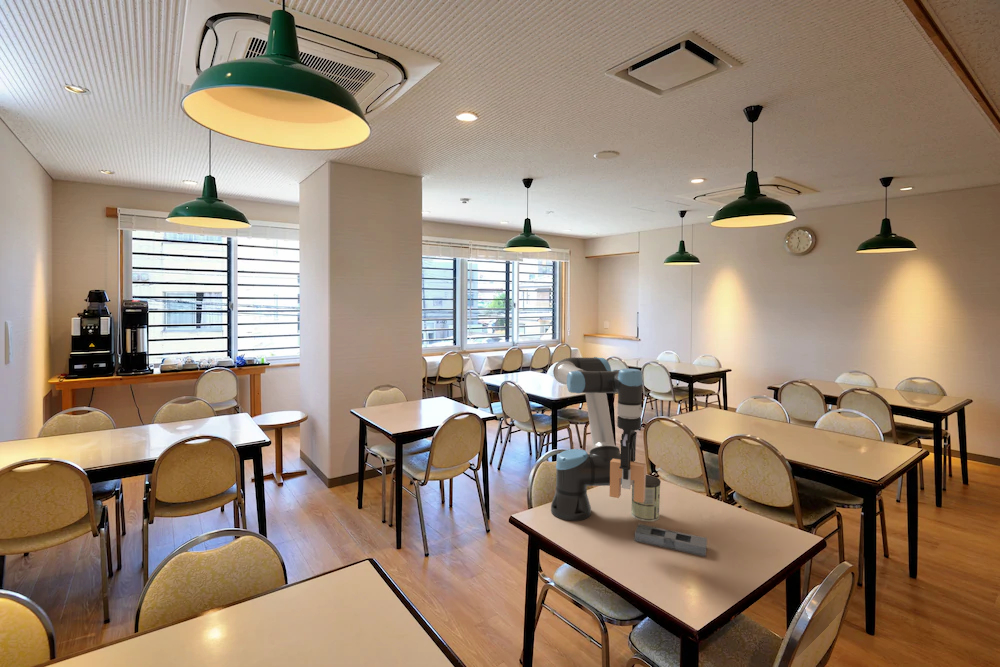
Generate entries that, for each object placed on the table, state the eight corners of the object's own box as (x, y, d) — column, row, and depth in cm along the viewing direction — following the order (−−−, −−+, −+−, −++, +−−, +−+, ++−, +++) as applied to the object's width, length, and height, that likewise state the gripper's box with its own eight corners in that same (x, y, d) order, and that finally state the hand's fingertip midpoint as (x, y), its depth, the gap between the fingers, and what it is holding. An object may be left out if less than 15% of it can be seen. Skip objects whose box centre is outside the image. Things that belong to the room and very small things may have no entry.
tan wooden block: (609, 496, 159) (610, 461, 158) (612, 493, 162) (612, 458, 161) (643, 503, 154) (644, 466, 153) (645, 499, 157) (646, 463, 156)
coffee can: (628, 509, 186) (629, 473, 185) (655, 510, 185) (657, 474, 184) (633, 521, 176) (634, 483, 175) (662, 522, 174) (663, 485, 174)
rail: (634, 541, 161) (634, 532, 161) (638, 532, 167) (638, 523, 167) (705, 556, 151) (705, 547, 151) (706, 546, 158) (706, 538, 157)
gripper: (635, 423, 147) (633, 497, 149) (645, 412, 162) (644, 480, 163) (611, 420, 151) (609, 492, 152) (623, 410, 165) (622, 476, 167)
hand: (627, 485), depth 158 cm, fingers closed on tan wooden block, 3 cm apart
